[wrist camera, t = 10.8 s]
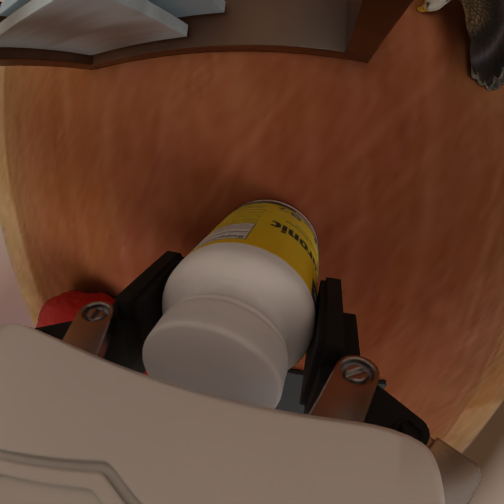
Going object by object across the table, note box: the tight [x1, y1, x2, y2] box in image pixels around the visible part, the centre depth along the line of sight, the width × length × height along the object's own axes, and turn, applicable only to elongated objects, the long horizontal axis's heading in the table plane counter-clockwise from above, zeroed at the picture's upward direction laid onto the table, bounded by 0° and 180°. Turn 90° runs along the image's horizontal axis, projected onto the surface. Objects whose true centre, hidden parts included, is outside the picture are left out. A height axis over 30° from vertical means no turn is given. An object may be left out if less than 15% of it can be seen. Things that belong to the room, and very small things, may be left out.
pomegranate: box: [36, 290, 148, 375], centre depth 18 cm, size 10×10×9 cm
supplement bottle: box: [142, 200, 319, 409], centre depth 12 cm, size 5×5×10 cm
